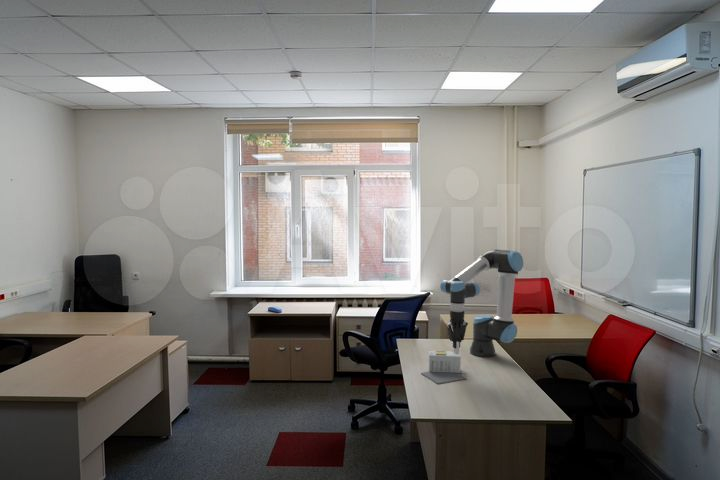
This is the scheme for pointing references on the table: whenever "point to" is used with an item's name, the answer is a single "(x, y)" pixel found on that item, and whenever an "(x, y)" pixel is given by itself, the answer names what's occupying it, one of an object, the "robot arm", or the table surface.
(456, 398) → the table surface
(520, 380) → the table surface
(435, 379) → the graphite mat
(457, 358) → the supplement box
